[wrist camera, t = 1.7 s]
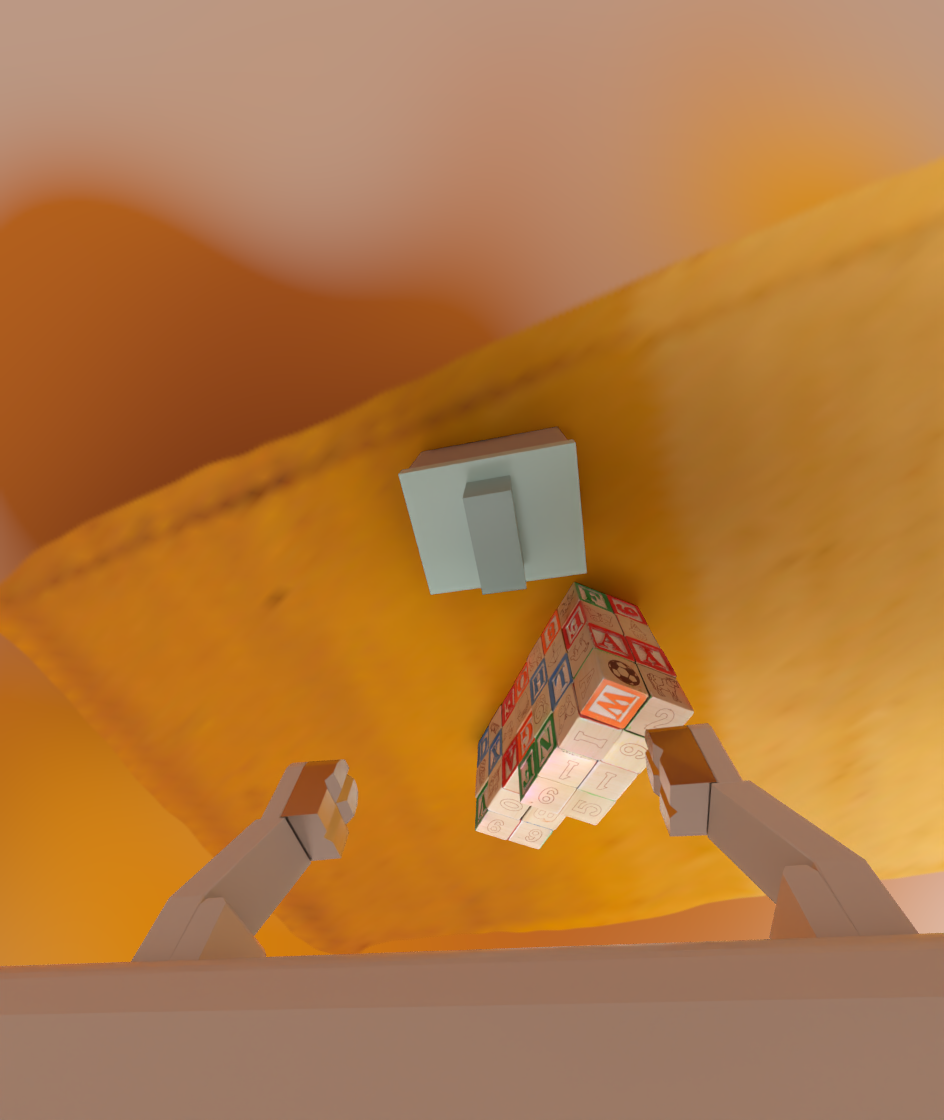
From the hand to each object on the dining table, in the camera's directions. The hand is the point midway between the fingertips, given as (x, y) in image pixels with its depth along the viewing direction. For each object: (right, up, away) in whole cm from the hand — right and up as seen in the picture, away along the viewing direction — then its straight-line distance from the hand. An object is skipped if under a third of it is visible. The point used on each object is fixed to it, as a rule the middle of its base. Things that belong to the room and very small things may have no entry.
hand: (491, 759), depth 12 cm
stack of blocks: (+7, -6, +29) cm, 31 cm away
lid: (+1, +9, +17) cm, 19 cm away
